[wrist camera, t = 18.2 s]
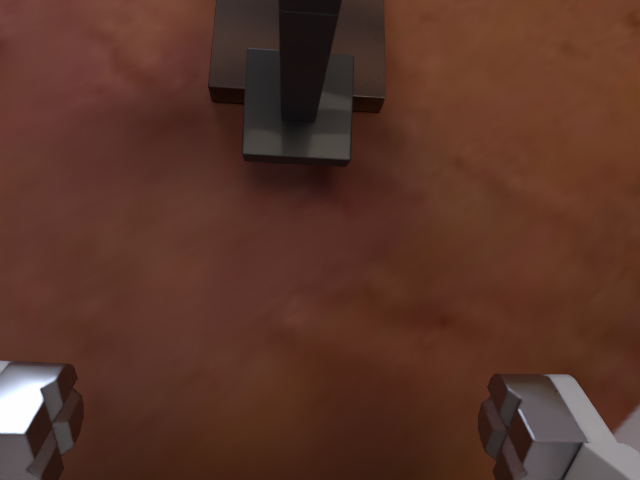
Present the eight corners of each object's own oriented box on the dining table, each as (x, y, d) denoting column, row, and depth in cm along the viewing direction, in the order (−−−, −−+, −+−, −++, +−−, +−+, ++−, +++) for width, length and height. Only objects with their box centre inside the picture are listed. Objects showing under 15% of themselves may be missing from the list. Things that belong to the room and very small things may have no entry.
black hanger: (346, 167, 24) (413, 64, 12) (243, 161, 23) (201, 49, 11) (352, 22, 24) (421, -224, 12) (251, 15, 24) (217, -248, 12)
